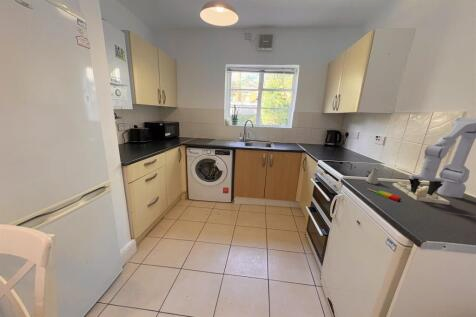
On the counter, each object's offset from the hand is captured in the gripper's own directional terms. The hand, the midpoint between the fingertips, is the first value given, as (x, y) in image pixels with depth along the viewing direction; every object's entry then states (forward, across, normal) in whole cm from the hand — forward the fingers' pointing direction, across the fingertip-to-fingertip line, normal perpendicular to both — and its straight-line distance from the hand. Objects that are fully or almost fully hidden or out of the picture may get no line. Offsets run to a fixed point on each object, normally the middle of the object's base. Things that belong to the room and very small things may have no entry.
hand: (421, 193), depth 98 cm
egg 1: (+3, 0, 0) cm, 3 cm away
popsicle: (+4, +19, +1) cm, 19 cm away
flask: (+4, +14, -19) cm, 24 cm away
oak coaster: (+3, -8, -24) cm, 25 cm away
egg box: (+3, -4, -7) cm, 8 cm away
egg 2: (+3, -7, -7) cm, 10 cm away
